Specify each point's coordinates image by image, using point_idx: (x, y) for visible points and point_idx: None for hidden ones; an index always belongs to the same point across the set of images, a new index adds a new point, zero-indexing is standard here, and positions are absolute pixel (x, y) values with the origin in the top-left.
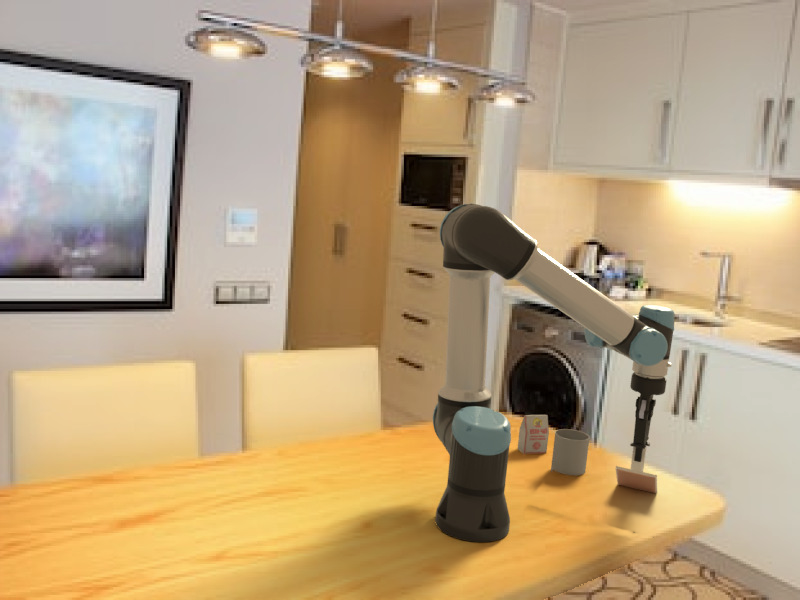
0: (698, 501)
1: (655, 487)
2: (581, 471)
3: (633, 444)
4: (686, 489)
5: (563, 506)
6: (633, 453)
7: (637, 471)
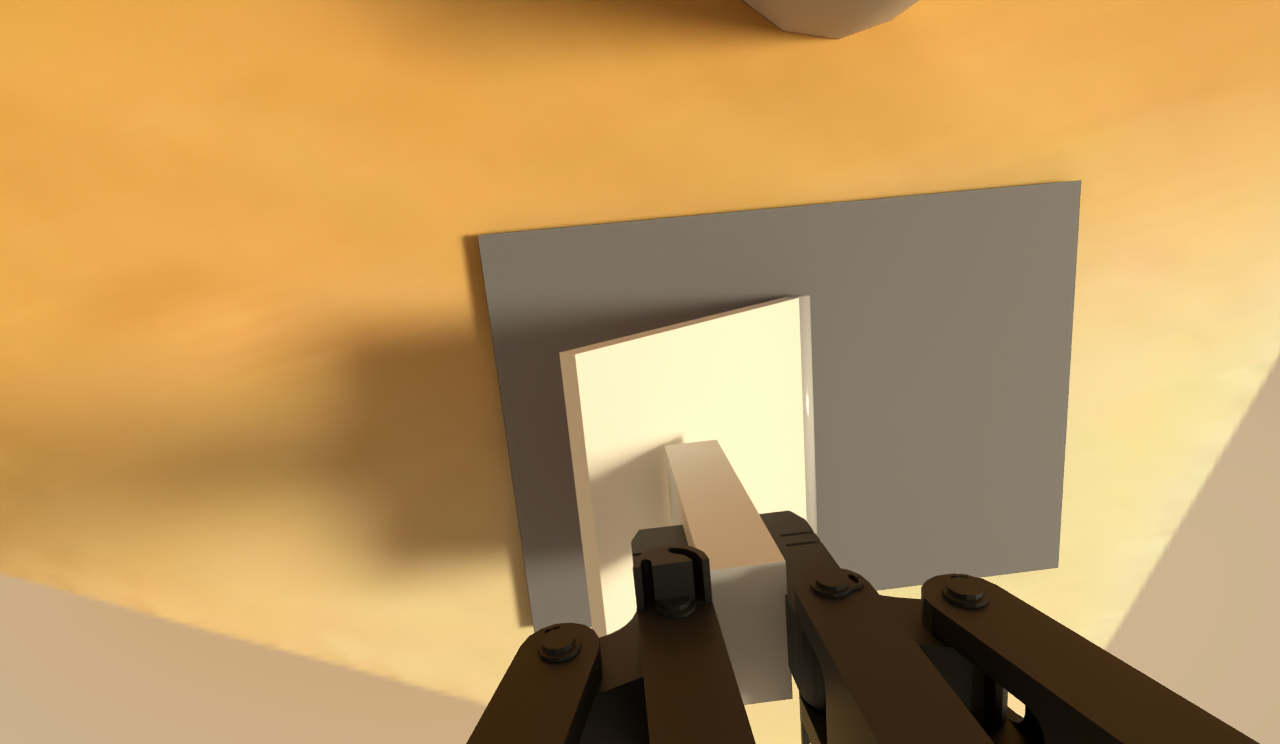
0: None
1: None
2: (794, 3)
3: (519, 657)
4: None
5: (184, 79)
6: (690, 533)
7: (593, 541)
